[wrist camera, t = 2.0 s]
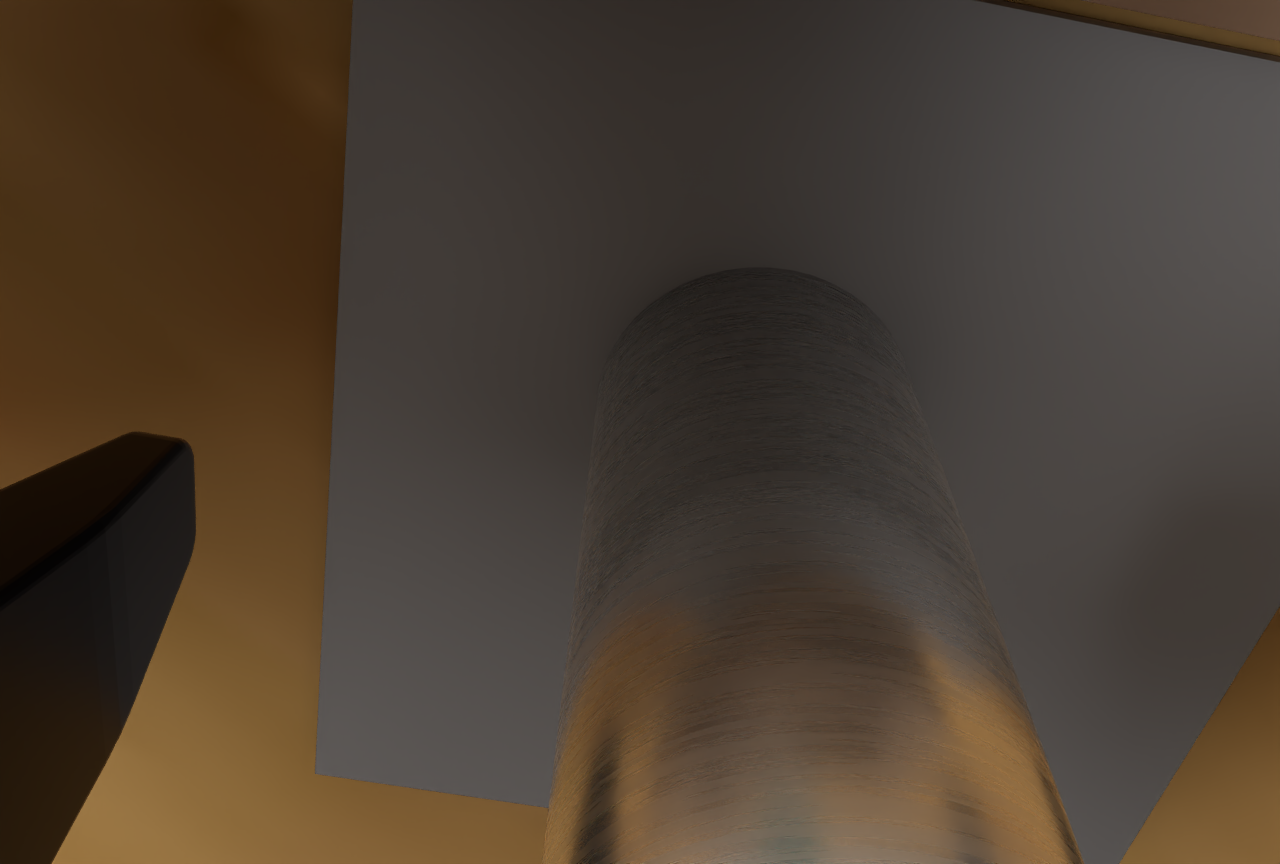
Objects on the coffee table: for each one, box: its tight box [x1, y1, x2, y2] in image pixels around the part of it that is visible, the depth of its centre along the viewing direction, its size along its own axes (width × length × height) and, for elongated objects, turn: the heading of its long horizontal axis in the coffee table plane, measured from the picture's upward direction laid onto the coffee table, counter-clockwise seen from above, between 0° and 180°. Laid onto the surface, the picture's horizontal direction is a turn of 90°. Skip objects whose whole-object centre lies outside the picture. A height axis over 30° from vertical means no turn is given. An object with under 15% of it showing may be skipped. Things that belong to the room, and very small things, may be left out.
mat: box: [315, 0, 1280, 864], centre depth 12 cm, size 10×10×1 cm
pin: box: [542, 267, 1084, 864], centre depth 7 cm, size 3×3×10 cm
